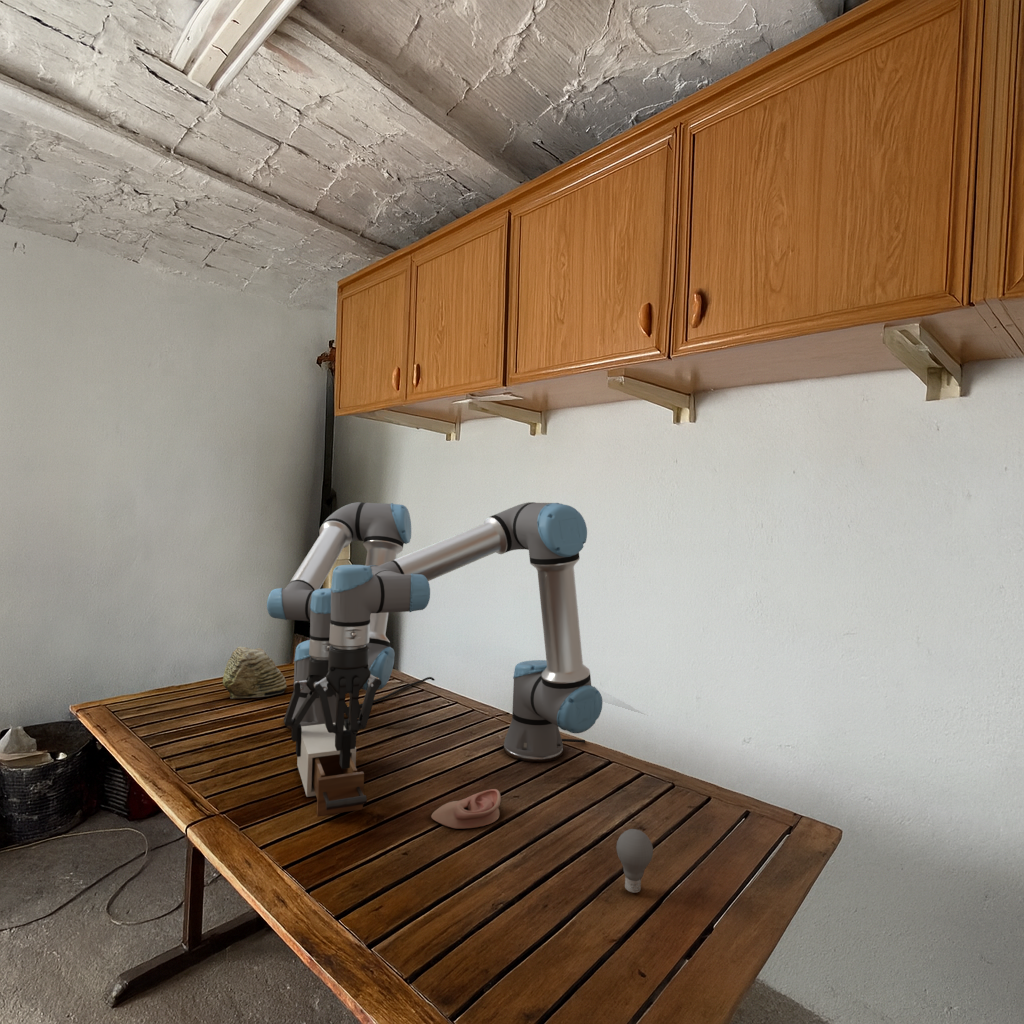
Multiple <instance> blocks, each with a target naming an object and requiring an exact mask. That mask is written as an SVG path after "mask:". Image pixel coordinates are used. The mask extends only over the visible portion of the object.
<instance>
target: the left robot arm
mask: <svg viewBox="0 0 1024 1024" xmlns="http://www.w3.org/2000/svg"><path fill="white" fill-rule="evenodd" d="M318 532H319V533H318V534H319V535H318V537H317V539H316V540H315V542H314V543H313V545H312V547H311V548H310V550H309V551H308V553H307V555H306V556H305V557H304V559H303V560H302V562H301V564H300V565H299V566H298V568H297V570H296V571H295V573H294V575H293V576H292V578H291V580H289V582H288V583H287V585H286V587H285V588H283V587H279V588H278V587H277V588H274V589H272V590H271V591H270V592H269V594H268V597H267V600H266V610H267V613H268V615H269V616H270V617H271V618H273V619H278V620H284V621H305V622H306V621H307V622H309V623H310V624H309V626H310V627H309V639H307V640H304V641H302V642H300V643H298V644H297V645H296V647H295V654H294V659H293V661H294V670H293V671H294V672H293V692H292V694H291V697H290V700H289V703H288V706H287V708H286V712H285V715H284V717H283V724H284V726H285V727H286V728H287V729H289V730H291V740H292V742H293V743H294V742H295V755H296V757H300V756H301V732H302V728H301V726H309V725H319V724H325V721H324V716H323V712H322V707H321V703H320V698H319V694H318V693H317V691H316V690H315V688H314V686H313V684H314V682H316V681H318V682H319V681H320V680H322V679H323V678H325V674H326V672H327V670H328V664H329V648H330V646H332V645H331V644H330V643H329V638H330V621H331V587H329V588H328V587H327V588H326V587H325V588H322V586H323V584H324V582H325V581H326V579H327V577H328V575H329V574H330V572H331V570H332V569H333V567H334V565H335V563H336V562H337V560H338V558H339V557H340V555H341V553H342V551H343V549H346V548H347V547H348V546H349V545H350V544H351V543H352V542H358V541H359V542H363V543H362V545H363V547H364V548H365V550H366V552H367V553H366V558H365V564H364V565H366V566H372V565H377V566H379V565H382V564H384V563H387V562H390V561H392V560H395V559H397V558H398V554H400V553H401V552H402V551H404V546H405V545H407V544H410V542H411V539H412V521H411V515H410V512H409V509H408V508H407V506H406V505H404V504H400V503H399V504H398V503H393V502H391V503H385V502H383V503H382V502H363V501H358V502H351V503H348V504H346V505H344V506H341V507H339V508H338V509H336V510H335V511H333V512H332V513H330V514H329V516H328V517H327V518H326V519H325V520H324V521H323V523H322V524H321V526H320V527H319V530H318ZM389 614H390V612H387V613H371V615H370V630H369V643H368V644H366V645H367V646H368V647H369V660H368V668H369V670H370V673H371V675H373V676H374V677H378V678H379V679H380V680H381V685H380V686H379V688H378V689H377V691H379V690H382V689H383V688H384V687H385V686H386V685H387V684H388V682H389V681H390V678H391V675H392V673H393V670H394V666H395V665H394V664H395V657H396V656H395V650H394V648H393V647H391V646H390V645H391V641H390V640H389V639H388V637H387V635H386V632H387V628H388V627H387V626H388V620H389ZM428 680H431V681H436V679H435V678H434V677H432V676H428V677H425V678H422V679H421V680H417V681H414V682H412V683H409V684H407V685H405V686H403V687H401V688H399V689H397V690H394V691H392V692H390V693H388V694H386V695H383V696H381V697H379V698H376V699H375V698H374V701H373V704H374V703H377V702H379V701H383V700H385V699H387V698H390V697H392V696H394V695H396V694H397V693H399V692H402V691H404V690H406V689H407V688H410V687H412V686H415V685H419V684H421V683H423V682H426V681H428ZM367 682H368V680H367V681H366V683H365V684H364V686H363V687H362V688H361V690H364V691H367V687H368V685H367ZM325 693H326V695H327V698H328V703H329V708H330V712H331V717H332V722H333V723H335V716H336V692H335V691H334V689H333V688H332V687H331V685H330V684H329V683H328V684H327V690H326V691H325ZM362 705H363V703H360V700H358V719H359V716H360V712H361V709H362ZM344 715H345V716H346V717H347V718H344V726H345V728H346V730H349V727H348V726H349V705H347V702H345V708H344Z"/></svg>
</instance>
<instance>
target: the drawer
mask: <svg viewBox="0 0 1024 1024" xmlns="http://www.w3.org/2000/svg"><path fill="white" fill-rule="evenodd" d="M312 785H313V788H314V791H315V794H316V796H315V798H316V816H317V817H318V818H319V817H323V816H324V817H325V816H329V815H330V816H331V815H336V814H341V813H347V812H353V811H359V810H363V809H364V805H367V803H368V797H367V795H366V794H364V790H365V789H364V788H365V773H364V771H358V769H357V766H356V767H355V765H354V763H353V761H352V759H351V757H350V768H346V769H342V768H341V766H340V754H337V755H330V756H322V757H314V758H312Z"/></svg>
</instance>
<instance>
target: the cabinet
mask: <svg viewBox="0 0 1024 1024" xmlns="http://www.w3.org/2000/svg"><path fill="white" fill-rule="evenodd" d="M333 724H335V723H333ZM301 728H302V732H301V756H300V757H297V756H296V757H297V758H296V759H297V762H296V763H297V764H296V766H297V770H298V773H299V775H300V779H301V782H302V786H303V789H304V792H305V796H306V797H307V798H309V797H316V794H315V791H314V788H313V785H312V758H314V757H322V756H330V755H337V754H340V751H337V750H336V748H335V733H329V732H328V730H327V728H326V726H325V724H319V725H309V726H301ZM344 730H346V728H345V726H344ZM350 757H351V759H352V761H353V763H354V765H355V767H356V768H357V746H356V747H355V749H351V750H350Z"/></svg>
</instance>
